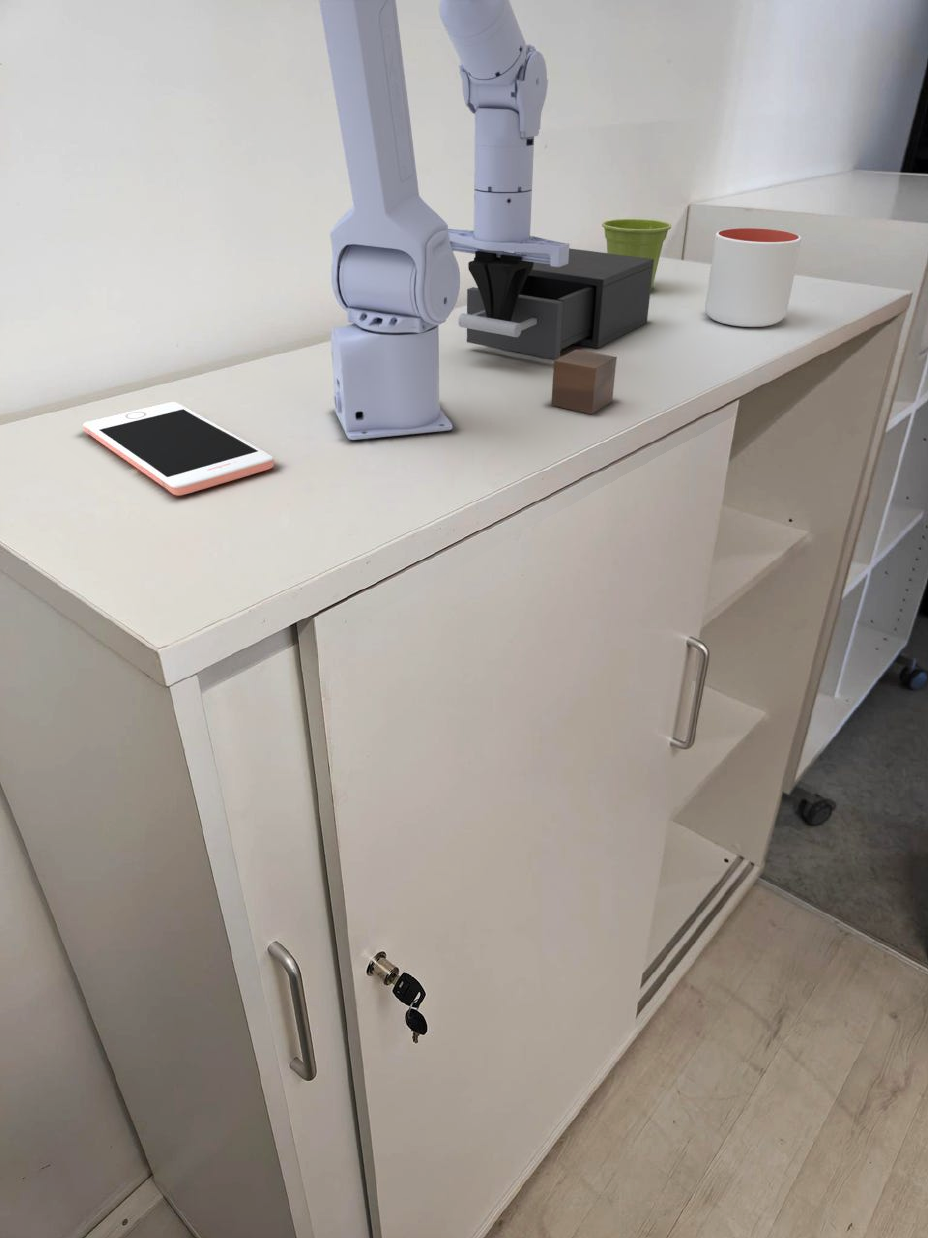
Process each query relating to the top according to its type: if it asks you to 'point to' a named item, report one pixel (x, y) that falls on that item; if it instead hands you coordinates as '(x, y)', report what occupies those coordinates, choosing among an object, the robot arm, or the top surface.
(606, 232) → the plant pot
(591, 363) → the block
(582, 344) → the cabinet
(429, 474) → the top surface
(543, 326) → the drawer
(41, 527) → the top surface
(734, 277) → the cup
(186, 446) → the cell phone
